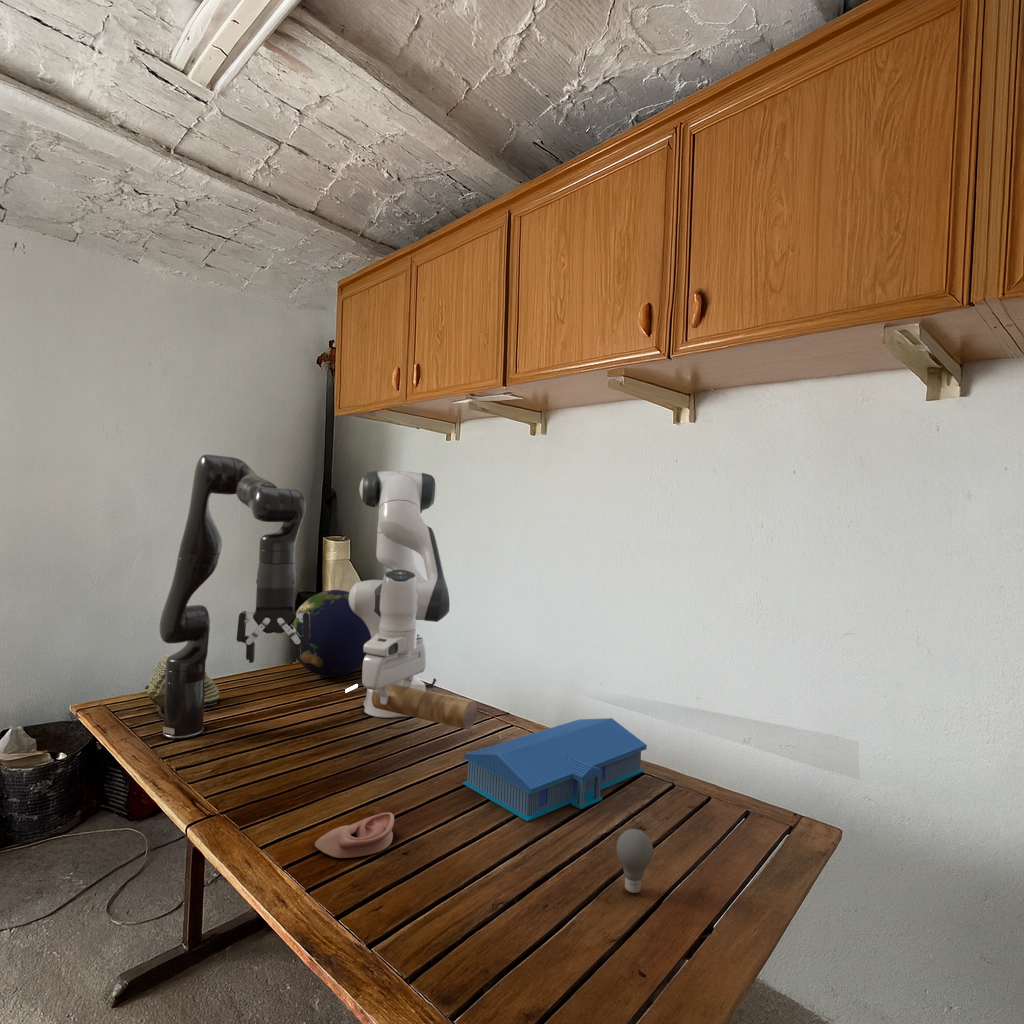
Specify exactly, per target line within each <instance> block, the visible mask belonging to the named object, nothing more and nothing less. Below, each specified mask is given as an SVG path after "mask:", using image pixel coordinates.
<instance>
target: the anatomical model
mask: <svg viewBox="0 0 1024 1024" xmlns="http://www.w3.org/2000/svg"><path fill="white" fill-rule="evenodd" d="M394 824H395V815H394V814H393V813H392V812H381V813H379V814H375V815H371V816H369V817H366V818H364V819H361V820H359V821H356V822H354V823H352V824H347V825H342V826H337V827H336V828H333V829H331V830H329V831H328V832H326V833H325V834H323V835H321V836H320V837H319V838H318V839H317V840H316V841H315V842H314V847H315V848H316V849H318V850H319V851H320V852H322V853H323V854H325V855H327V856H330V857H332V858H335V859H349V858H358V857H364V856H369V855H374V854H376V853H379V852H382V851H383V850H385V849H387V848H388V847H390V845H391V844H392V842H393V839H394V833H393V828H394Z"/></svg>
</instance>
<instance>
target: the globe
mask: <svg viewBox="0 0 1024 1024" xmlns="http://www.w3.org/2000/svg"><path fill="white" fill-rule="evenodd" d="M349 593H350V591H348V590H344V589H328V590H324V591H321V592H319V593H316V594H313V596H311V597H309V598H308V599H306V600H305V601H304V602H302V604H300V606H298V609H297V610H296V611H295V612H296V613H301V612H305V611H309V612H310V639H309V640H308V641H305V642H302V643H301V655H300V658H299V659H297V662H298V663H299V664H300V665H301V666H302V667H304V668H305V669H306V670H307V671H308V672H311V673H313V674H315V675H317V676H321V677H325V678H337V677H343V676H347V675H349V674H352V673H353V672H355V671H357V670H358V669H360V668H361V667H363V660H364V657H365V656H366V654H368V653H364V651H363V647H364V644H365V643H366V642H368V641H369V640H370V639H371V635H370V632H369V629H368V627H367V626H366V624H365V623H364V621H363V620H362V619H361V618H360V617H359V616H357V615H356V614H355V613H354V612H353V611H352V610H351V608H350V605H349V600H348V598H349ZM292 625H293V627H294V628H295V629H296V631H297V633H298V634H299V635H300V636H301V635H303V623H301V622H300V621H299V619H298V618H296V619H295V620H294V621H293V623H292ZM289 644H290V647H291V650H292V651H291V652H293V645H294V641H293V640H292V639H291V638H290V637H289Z"/></svg>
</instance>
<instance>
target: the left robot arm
mask: <svg viewBox="0 0 1024 1024" xmlns="http://www.w3.org/2000/svg"><path fill="white" fill-rule="evenodd" d="M191 488H192V489H191V494H190V502H189V508H188V512H187V513H188V514H187V518H186V523H185V527H184V530H183V534H182V536H181V537H182V538H181V541H180V546H179V550H178V554H177V559H176V564H175V569H174V575H173V578H172V581H171V586H170V588H169V591H168V594H167V596H166V597H167V598H166V600H165V604H164V606H163V609H162V612H161V616H160V619H159V629H158V630H159V636H160V638H161V641H163V642H164V643H166V644H171V645H172V644H180V643H181V644H183V643H186V644H185V645H184V646H183V647H182V648H181V649H180V650H178V651H176V652H174V653H172V654H170V655H171V656H169V657H168V658H167V660H166V674H165V705H164V708H161V709H160V710H157V711H158V712H157V714H158V716H159V717H161V718H162V719H163V726H162V737H164V738H166V739H169V740H185V739H190V738H191V739H192V738H194V737H197V736H199V735H202V734H203V732H204V730H205V729H204V722H205V721H204V718H205V706H204V693H205V672H206V664H207V663H206V662H207V658H208V653H209V652H208V651H209V641H210V640H209V639H210V631H211V617H210V613H209V610H208V608H207V607H206V606H205V605H203V604H192V605H191V604H190V605H188V603H189V601H190V600H191V598H192V596H193V595H194V593H196V591H197V590H199V588H200V587H201V586H203V584H204V583H205V582H206V581H207V580H208V579H209V578H210V577H211V576H212V575H213V573H214V572H215V571H216V569H217V567H218V564H219V560H220V556H221V552H222V547H223V539H222V536H221V534H220V531H219V529H218V528H217V526H216V523H215V521H214V519H213V517H212V514H211V511H210V505H209V504H210V499H211V495H212V494H216V495H226V496H227V495H228V496H233V495H236V497H237V499H238V500H239V501H240V503H242V505H244V506H246V507H247V508H249V509H250V510H251V513H252V515H253V517H254V519H256V520H258V521H260V522H264V523H282V524H281V526H280V528H279V529H278V530H277V531H275V532H271V533H266V534H263V535H261V537H260V539H259V550H258V551H259V553H258V555H259V556H258V567H257V572H256V573H257V574H256V579H255V580H256V582H255V583H256V593H255V596H256V598H255V611H254V612H250V611H249V612H248V611H246V610H242V611H241V612H240V613H239V614H238V620H237V631H236V642H238V643H243V644H245V646H246V647H245V660H247V661H248V663H249V664H253V663H254V662H255V652H256V649H255V648H256V642H255V641H256V639H257V638H258V637H259V636H260V635H261V633H262V632H263V633H265V634H274V633H275V634H283V633H286V635H287V636H288V637H289V639H290V638H291V639H292V640H293V641H294V645H293V651H292V663H297V662H298V660H297V659H299V658H300V655H301V643H302V642H305V641H308V640H309V639H310V612H309V611H305V612H301V613H296V612H297V611H296V609H295V601H296V600H295V599H296V578H297V577H296V575H297V573H296V544H297V539H298V536H299V532H300V530H301V525H302V524H303V521H304V518H305V514H306V511H307V503H306V502H307V501H306V498H305V496H304V494H303V493H302V492H301V491H300V490H299V489H295V488H281V487H277V486H276V485H275V484H274V483H273V482H271V481H270V480H267V479H265V478H263V477H261V476H259V475H258V474H257V473H256V472H255V471H254V470H253V469H252V468H251V467H250V466H249V465H248V464H247V463H246V462H245V461H243V460H242V459H240V458H238V457H234V456H225V455H217V454H202V455H201V456H200V457H199V459H198V460H197V463H196V466H195V469H194V474H193V481H192V487H191ZM296 618H298V619H299V621H300V622H301V623H303V635H301V636H300V635H299V634H298V633H297V631H296V629H295V628H294V627H293V625H292V623H293V621H294V620H295V619H296ZM251 619H253V620H254V622H255V623H256V624H257V627H256V628H255V629H254V631H252V633H251V634H250V635H246V631H247V630H246V628H247V624H248V623H250V621H251ZM148 688H149V684H147V685H146V686H145V688H144V690H148Z"/></svg>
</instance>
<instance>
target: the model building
mask: <svg viewBox="0 0 1024 1024" xmlns="http://www.w3.org/2000/svg"><path fill="white" fill-rule="evenodd" d="M647 745H648V744H646V742H643V740H641V739H640V738H638V737H637V736H636V735H634V734H633V733H632V732H630V730H628V729H627V728H626V727H624V726H623V725H622V724H621V723H619V722H618V721H616V720H615V719H614V718H612V717H609V718H607V717H606V718H605V717H604V718H580V719H576V720H572V721H570V722H566V723H562V724H560V725H556V726H552V727H550V728H546V729H543V730H539V731H536V732H532V733H529V734H526V735H523V736H519V737H516V738H513V739H510V740H505V741H503V742H499V743H496V744H492V745H489V746H486V747H482V748H479V749H475V750H473V751H470V752H469V751H468V752H465V753H464V754H463V759H464V760H466V761H467V780H465V781H463V782H462V783H463V784H462V785H464V786H465V787H467V788H469V789H471V790H473V791H474V792H476V793H478V794H479V795H481V796H483V797H485V798H486V799H488V800H490V801H491V802H493V803H495V804H496V805H498V806H500V807H502V808H503V809H505V810H507V811H508V812H510V813H512V814H513V815H515V816H517V817H518V818H520V819H522V820H524V821H525V822H530V821H532V820H536V819H537V818H540V817H541V816H544V815H547V814H549V813H551V812H553V811H556V810H559V809H560V808H562V807H565V806H567V805H571V806H573V807H575V808H577V809H579V810H583V809H585V808H587V807H590V806H592V805H594V804H596V803H599V802H601V801H603V797H602V796H601V792H602V790H605V789H607V788H610V787H612V786H614V785H616V784H618V783H621V782H623V781H626V780H629V779H631V778H632V777H635V776H637V775H639V774H641V773H645V770H644V769H643V768H641V760H642V752H643V751H645V750H647Z"/></svg>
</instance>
